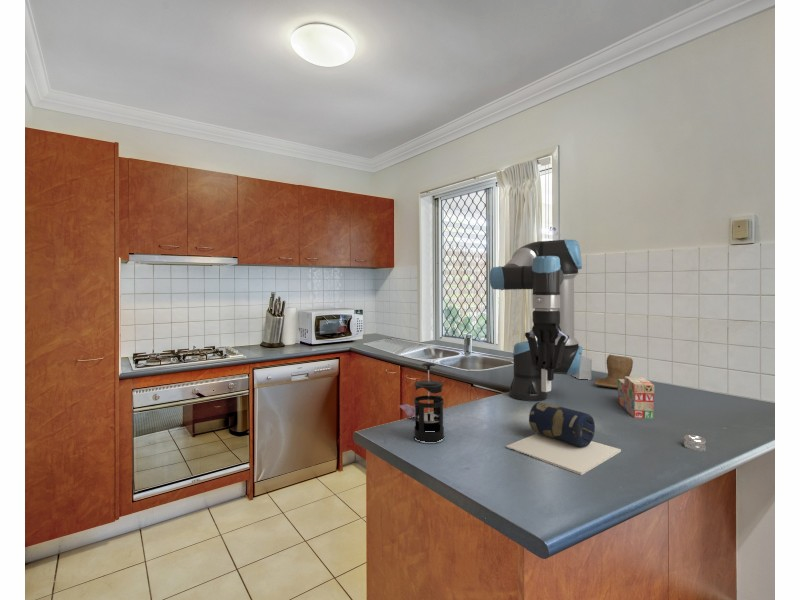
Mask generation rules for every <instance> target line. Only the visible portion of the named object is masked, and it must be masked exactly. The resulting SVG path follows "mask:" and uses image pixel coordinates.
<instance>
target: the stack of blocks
mask: <svg viewBox="0 0 800 600" xmlns="http://www.w3.org/2000/svg"><path fill="white" fill-rule="evenodd" d="M617 402H618V403H619V404H620V406H622V407H623V408H624V409H625V410H626V411H627V412H628V413H629V414H630V415H631V417H633V418H634V419H641V420H642V419H643V420H655V419H654V418H655V417H654V416H655V414H654V413H655V409H654V408H655V407H654V406H655V405H654V404H655V384H653V383H652V382H651V381H649V380H648V379H646V378H644V377H643V376H629V377H627V376H625V377H624V379H618V389H617Z"/></svg>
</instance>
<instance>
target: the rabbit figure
mask: <svg viewBox="0 0 800 600" xmlns="http://www.w3.org/2000/svg"><path fill="white" fill-rule="evenodd" d="M397 407H398V408H400V409H401V410H402V411H404V412H405V414H406V416H407V417H408V418H411V419H413V417H414V418H415V405H410V404H408V403H405V404H399V405H398V406H397Z"/></svg>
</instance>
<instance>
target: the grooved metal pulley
mask: <svg viewBox="0 0 800 600" xmlns="http://www.w3.org/2000/svg"><path fill="white" fill-rule="evenodd" d="M683 439H684V441H683V446H684V447H685V448H686V447H687V448H686V449H688V448H690V449H689V450H691V449H694V450H693V451H696V450H699V451H698V452H703V450H704V451H706V449H707V448H706V447H707V446H706V445H705V444H707V441H706V439H705V438H704V437H703V436H700V435H695V434H685V435H684V437H683Z"/></svg>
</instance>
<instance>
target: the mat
mask: <svg viewBox="0 0 800 600" xmlns="http://www.w3.org/2000/svg"><path fill="white" fill-rule="evenodd" d="M506 447H508V448H511V449H514V450H516V451H519V452H521V453H524V454H527V455H529V456H528V457H530V456H532V457H534V458H533V459H535V458H537V459H536V460H538V459H540V460H539V461H541V460H542V462H544V461H545V462H544V463H546V462H547V464H549V463H550V464H549V465H552V464H553V466H555V467H557V466H558V468H561V469H564V470H567V471H569V472H571V473H575V474H577V475H580V476H583V475H584V474H587V473H588V472H589V471H590V470H591V471H592V470H593V469H594V468H596V467H597V466H599V465H601V464H603V463H604V462H606V461H608V460H610V459H611V458H612V457H614V456H616V455H618V454H619V453H621V451H622V449H620V448H619V447H613V446H611V445H606V444H603V443H600V442H595V441H593V440H592V441H591V442H590V444H589V445H587V446H586V447H580V446H576V445H573V444H570V443H567V442H564V441H561V440H558V439H553V438H552V437H548V436H546V435H543V434H540V433H537V432H536V433H535V434H532V435H529V436H527V437H524V438H522V439H519V440H518V441H515V442H512V443H510V444H507V445H505V448H506ZM516 451H515V452H516ZM519 452H518V453H519ZM521 453H520V454H521ZM524 454H523V455H524ZM527 455H526V456H527ZM532 457H531V458H532Z"/></svg>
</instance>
